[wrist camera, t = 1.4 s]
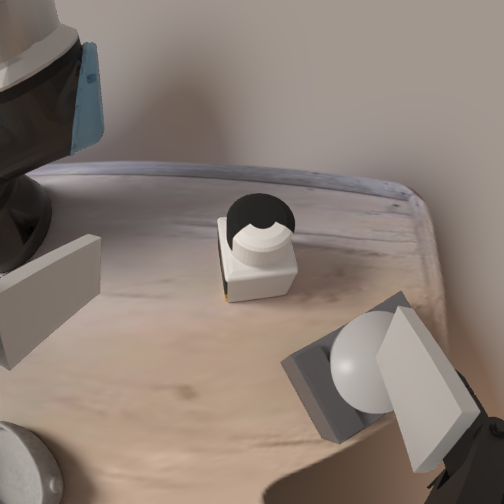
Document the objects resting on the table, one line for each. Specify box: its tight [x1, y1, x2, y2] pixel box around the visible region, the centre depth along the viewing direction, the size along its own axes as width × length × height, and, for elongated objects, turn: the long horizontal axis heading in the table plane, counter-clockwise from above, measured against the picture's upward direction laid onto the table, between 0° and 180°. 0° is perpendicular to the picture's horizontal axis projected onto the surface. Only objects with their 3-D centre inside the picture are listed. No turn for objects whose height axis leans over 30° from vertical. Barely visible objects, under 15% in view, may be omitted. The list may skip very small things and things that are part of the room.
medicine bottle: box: [217, 193, 298, 303], centre depth 33 cm, size 7×7×12 cm
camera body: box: [281, 291, 411, 444], centre depth 30 cm, size 10×14×8 cm
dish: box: [0, 421, 64, 504], centre depth 22 cm, size 14×14×5 cm
